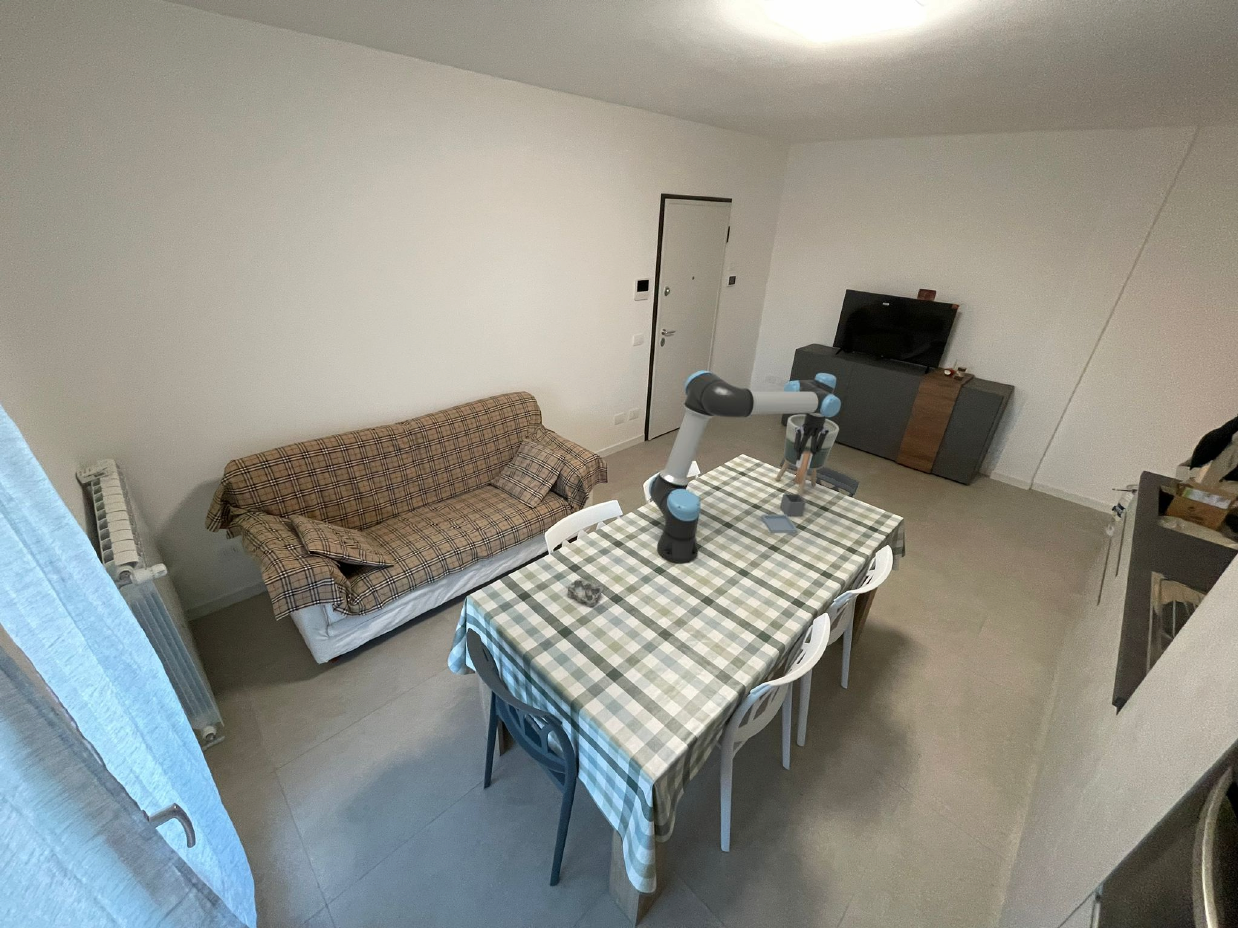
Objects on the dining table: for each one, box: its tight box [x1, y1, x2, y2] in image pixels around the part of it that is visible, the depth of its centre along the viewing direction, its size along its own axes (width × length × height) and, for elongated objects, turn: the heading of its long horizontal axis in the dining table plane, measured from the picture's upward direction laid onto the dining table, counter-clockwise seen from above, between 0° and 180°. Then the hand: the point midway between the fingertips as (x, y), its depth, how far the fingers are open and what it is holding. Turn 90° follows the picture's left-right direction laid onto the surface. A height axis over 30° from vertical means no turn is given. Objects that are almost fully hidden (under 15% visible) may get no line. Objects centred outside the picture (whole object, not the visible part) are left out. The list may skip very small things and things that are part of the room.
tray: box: [760, 514, 799, 534], centre depth 203 cm, size 11×11×2 cm
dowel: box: [793, 451, 810, 485], centre depth 203 cm, size 3×3×14 cm
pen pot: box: [779, 493, 806, 518], centre depth 211 cm, size 7×7×8 cm
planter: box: [774, 414, 840, 499], centre depth 226 cm, size 22×22×33 cm
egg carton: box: [565, 577, 604, 608], centre depth 159 cm, size 11×8×4 cm
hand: (802, 466), depth 202 cm, fingers closed on dowel, 3 cm apart
